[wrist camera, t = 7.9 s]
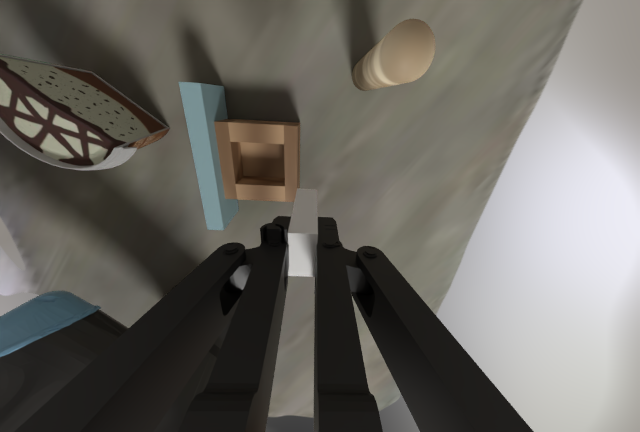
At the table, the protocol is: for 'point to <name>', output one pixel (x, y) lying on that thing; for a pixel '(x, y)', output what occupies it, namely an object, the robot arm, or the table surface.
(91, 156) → the food container
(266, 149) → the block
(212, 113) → the wall
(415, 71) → the dowel
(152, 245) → the table surface
